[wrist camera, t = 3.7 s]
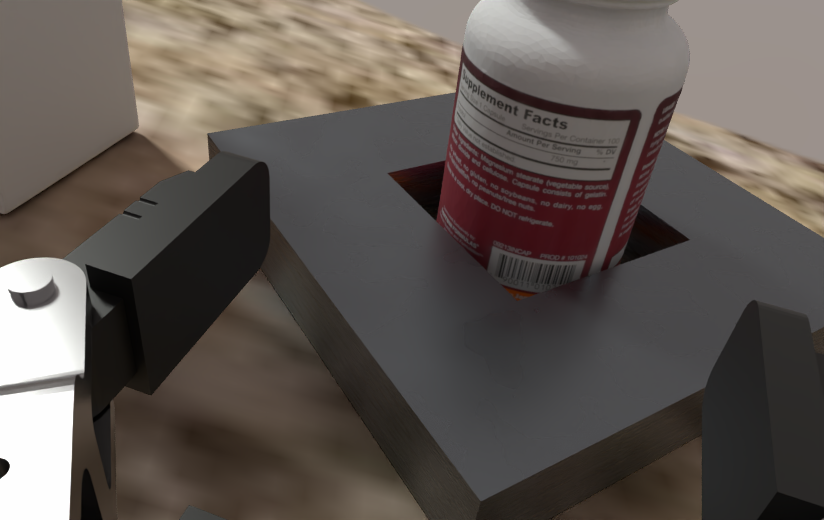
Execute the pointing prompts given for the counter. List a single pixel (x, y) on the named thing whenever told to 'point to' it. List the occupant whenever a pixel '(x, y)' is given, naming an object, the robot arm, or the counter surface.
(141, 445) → the counter surface
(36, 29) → the milk carton
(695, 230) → the holder block
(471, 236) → the pill bottle
